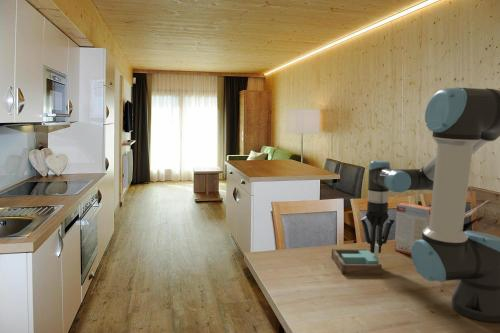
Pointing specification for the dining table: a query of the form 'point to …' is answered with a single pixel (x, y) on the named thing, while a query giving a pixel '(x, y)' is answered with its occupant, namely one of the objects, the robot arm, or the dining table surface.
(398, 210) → the cracker box
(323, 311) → the dining table surface
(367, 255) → the t block
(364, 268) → the nest
